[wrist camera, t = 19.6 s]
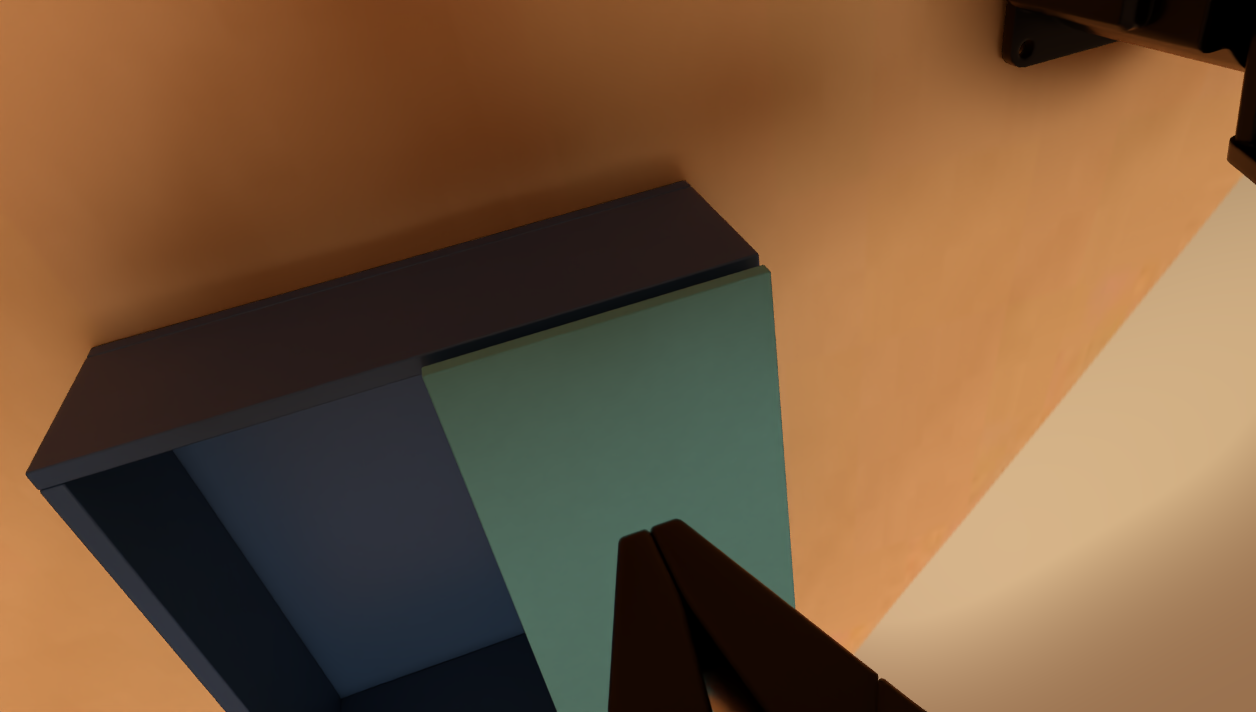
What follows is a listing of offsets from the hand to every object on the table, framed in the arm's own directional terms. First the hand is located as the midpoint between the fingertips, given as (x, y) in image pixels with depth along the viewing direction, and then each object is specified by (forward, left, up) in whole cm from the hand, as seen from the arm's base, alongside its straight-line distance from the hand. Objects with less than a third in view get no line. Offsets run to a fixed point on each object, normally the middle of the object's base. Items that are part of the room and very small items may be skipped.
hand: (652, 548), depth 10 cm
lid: (-1, +9, -8) cm, 12 cm away
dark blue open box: (+3, +9, -13) cm, 16 cm away
